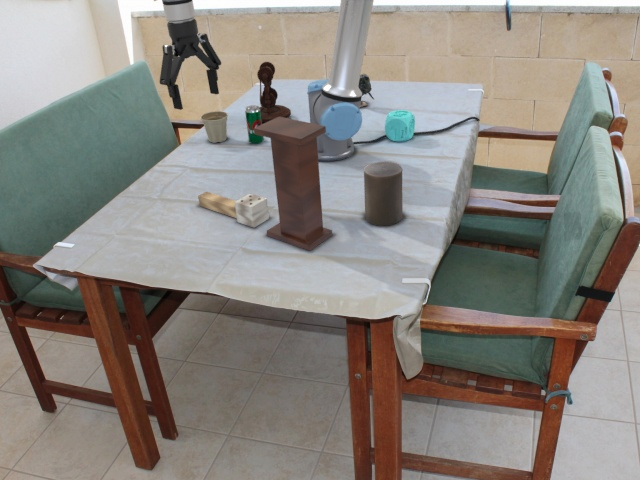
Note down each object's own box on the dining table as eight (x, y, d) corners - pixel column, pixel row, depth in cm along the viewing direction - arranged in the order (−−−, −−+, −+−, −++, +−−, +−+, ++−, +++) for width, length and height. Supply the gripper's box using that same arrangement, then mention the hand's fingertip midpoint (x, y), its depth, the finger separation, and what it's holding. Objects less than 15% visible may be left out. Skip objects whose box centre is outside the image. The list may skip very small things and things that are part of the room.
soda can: (266, 139, 221) (262, 105, 214) (260, 145, 217) (256, 110, 210) (252, 138, 222) (248, 104, 216) (246, 144, 218) (242, 109, 212)
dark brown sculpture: (253, 113, 245) (247, 60, 234) (292, 111, 244) (287, 57, 233) (249, 127, 232) (242, 71, 221) (289, 125, 231) (284, 68, 221)
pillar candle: (392, 229, 162) (391, 174, 154) (358, 221, 167) (356, 167, 159) (408, 212, 169) (409, 159, 161) (375, 205, 174) (374, 153, 166)
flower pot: (226, 145, 218) (222, 120, 214) (200, 144, 220) (196, 120, 216) (234, 135, 226) (231, 111, 222) (209, 134, 228) (205, 111, 224)
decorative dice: (384, 140, 213) (384, 117, 208) (391, 132, 219) (391, 109, 215) (408, 142, 210) (408, 119, 206) (414, 133, 216) (415, 110, 212)
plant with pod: (371, 109, 240) (370, 54, 229) (341, 108, 243) (339, 54, 232) (375, 102, 246) (374, 48, 236) (346, 101, 249) (344, 48, 239)
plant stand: (332, 235, 162) (325, 126, 146) (310, 251, 156) (300, 138, 141) (289, 221, 169) (279, 116, 154) (266, 236, 163) (253, 128, 148)
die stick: (269, 218, 171) (266, 197, 168) (253, 227, 167) (251, 206, 164) (211, 199, 183) (208, 179, 180) (196, 208, 179) (192, 187, 176)
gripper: (206, 8, 175) (219, 86, 187) (133, 30, 159) (153, 113, 171) (225, 10, 171) (238, 89, 183) (152, 32, 155) (171, 117, 167)
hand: (197, 101), depth 177 cm, fingers open, 13 cm apart
